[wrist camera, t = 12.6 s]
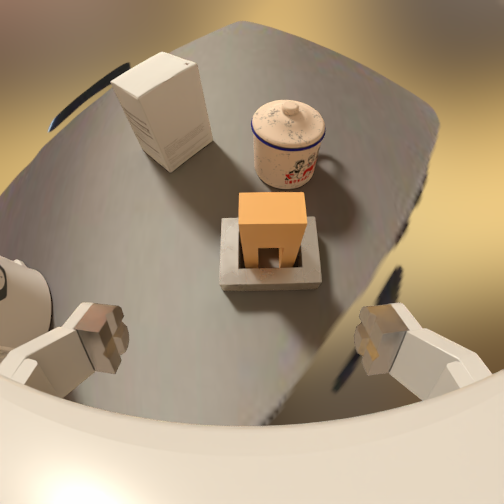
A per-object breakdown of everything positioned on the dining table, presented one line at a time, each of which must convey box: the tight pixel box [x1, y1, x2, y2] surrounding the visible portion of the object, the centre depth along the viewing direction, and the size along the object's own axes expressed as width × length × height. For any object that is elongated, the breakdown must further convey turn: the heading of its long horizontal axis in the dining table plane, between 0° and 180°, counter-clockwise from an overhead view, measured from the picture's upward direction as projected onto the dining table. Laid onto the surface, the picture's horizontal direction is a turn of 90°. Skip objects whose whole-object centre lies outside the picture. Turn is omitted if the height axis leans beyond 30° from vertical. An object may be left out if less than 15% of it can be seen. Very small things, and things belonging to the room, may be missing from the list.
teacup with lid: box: [251, 100, 325, 189], centre depth 34 cm, size 12×9×12 cm
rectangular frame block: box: [219, 217, 322, 291], centre depth 32 cm, size 8×11×3 cm
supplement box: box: [111, 52, 213, 173], centre depth 34 cm, size 9×9×15 cm
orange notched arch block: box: [238, 192, 307, 269], centre depth 28 cm, size 6×3×12 cm, turn 90°
